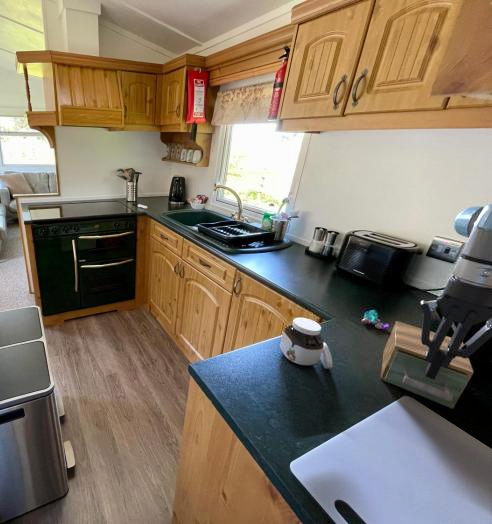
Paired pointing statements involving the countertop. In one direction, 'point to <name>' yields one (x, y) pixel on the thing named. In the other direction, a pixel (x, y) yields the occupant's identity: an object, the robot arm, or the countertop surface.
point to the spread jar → (305, 344)
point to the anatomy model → (368, 320)
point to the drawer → (425, 379)
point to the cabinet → (417, 349)
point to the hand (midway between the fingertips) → (429, 375)
